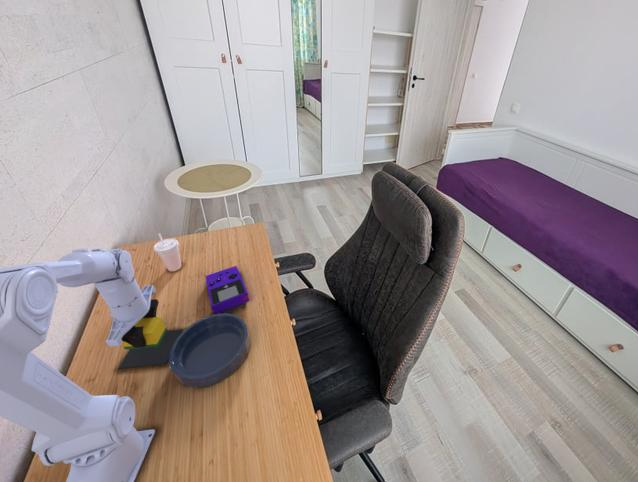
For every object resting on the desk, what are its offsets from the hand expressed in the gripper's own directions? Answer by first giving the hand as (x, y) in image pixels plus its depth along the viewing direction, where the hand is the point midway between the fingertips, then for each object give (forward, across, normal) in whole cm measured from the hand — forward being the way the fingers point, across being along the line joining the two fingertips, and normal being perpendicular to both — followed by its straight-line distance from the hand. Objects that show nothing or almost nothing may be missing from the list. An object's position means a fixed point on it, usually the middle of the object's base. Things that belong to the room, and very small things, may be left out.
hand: (146, 336), depth 67 cm
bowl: (+5, +3, +15) cm, 16 cm away
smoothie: (+5, -29, -7) cm, 30 cm away
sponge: (+1, 0, 0) cm, 1 cm away
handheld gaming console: (+5, -16, +13) cm, 21 cm away
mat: (+5, 0, 0) cm, 5 cm away
